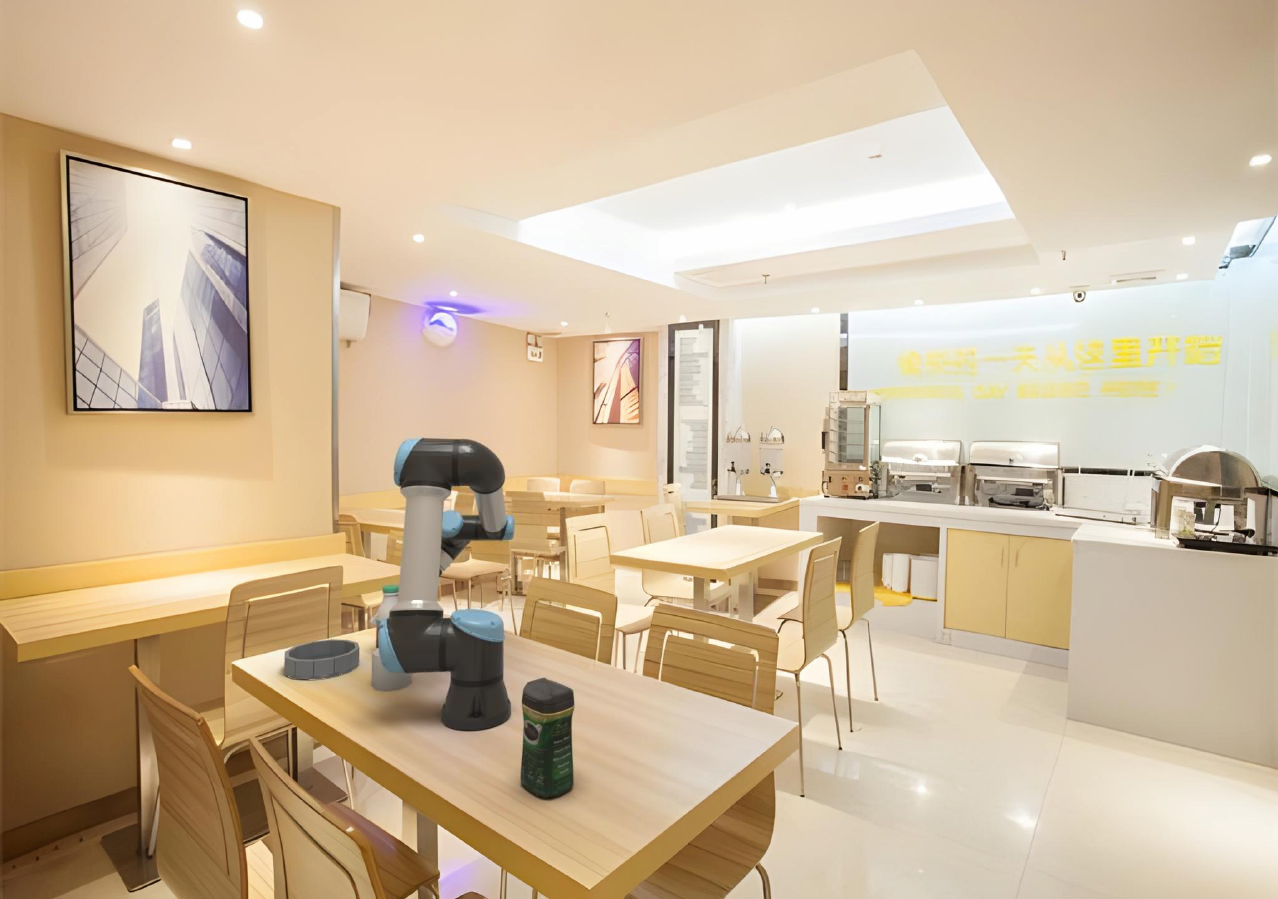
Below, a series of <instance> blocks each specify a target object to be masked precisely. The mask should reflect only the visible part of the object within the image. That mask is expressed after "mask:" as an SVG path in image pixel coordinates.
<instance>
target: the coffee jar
mask: <svg viewBox="0 0 1278 899" xmlns="http://www.w3.org/2000/svg"><path fill="white" fill-rule="evenodd" d="M575 706H576V705H575V693H574V689H573V688H571V687H569V686H566V685H564V684H561V683H559V682H557V681H554V680H550V679H547V678H546V677H541V678H537V679H533V680H531V681H527V682H526V684H525V685H524V687H523V689H522V697H521V710H522V716H523V717H522V720H523V728H522V729H523V731H522V732H523V735H522V737H523V738H522V749H521V750H522V751H521V752H522V753H521V763H520V764H521V765H520V782H521V785H522V786H524V788H526V789H527V790H528V791H529V792H531V793H533V794H535V795H536V796H539V797H542V798H550V797H559V796H560V795H563V794H564V793H566V792H567V791H569V790H570V789H571V788H572V787H573V785H574V756H573V731H572V730H573V728H572V726H573V725H572V724H573V715H574V711H575Z"/></svg>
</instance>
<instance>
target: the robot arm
mask: <svg viewBox="0 0 1278 899" xmlns="http://www.w3.org/2000/svg"><path fill="white" fill-rule="evenodd" d="M505 481H506V472H505V468H504V465H503V462H502V461H501V460H500V458H499V457H498V456H497V455H496V453H494V452H493V450H492V449H491V448H489V447H488V446H486V445H484V444H482V443H481V442H478V441H477V440H473V439H470V438H469V439H468V438H435V437H434V438H433V437H431V438H429V437H420V438H408V439H405V440H403V441H402V442H401V444H400V445H399V447H398V449H397V452H396V455H395V459H394V463H393V482H394V484H395V486H397V487H399V488H400V490H399V493H400V494H401V495H402V496H403V497H404V498H405V510H404V511H405V512H404V525H403V535H402V547H401V557H400V558H401V559H400V570H399V581H398V585H399V592H398V602H397V604H396V605H395V606H394V607H393V608H391V609H390V612H389V618H386V619H384V620H382V621H381V623H380V629H379V633H378V646H379V655H380V660H381V663H382V665H383V667H384V669H385V670H386V671H387V672H390V673H404V674H409V673H412V674H421V673H423V674H425V673H426V674H427V673H450V682H449V688H448V690H447V694H446V697H445V702H444V703H443V705H442V708H441V722H442V723H443V724H444V725H445V726H446V727H448V728H450V729H454V730H459V731H478V730H486V729H491V728H493V727H495V726H496V727H497V726H498V725H501V724H503V723H505V722H506V721H507V720H508V719H510V716H511V714H512V703H511V700H510V698H509V695H508V691H507V687H506V683H505V681H504V667H505V666H504V663H505V661H504V655H505V654H504V652H505V651H504V650H505V648H504V646H505V645H504V644H505V643H504V642H505V639H506V636H505V629H504V628H505V627H504V620H503V618H502V617H501V616H500V615H498V614H497V613H495V612H492V611H489V610H484V609H478V608H465V609H457V610H454V611H453V612H452V613H451V615H450V617H444V612H445V611H444V609H443V607H442V606H440V604H439V602H438V596H439V583H440V582H439V581H440V580H439V579H440V577H441V576H442V575H443V572H445V571H446V570H447V568H450V567H451V564H452V563H453V562H454V561H455V559H456V558H457V557H459V555H460V554H461V553H462V552H463V551H464V549H465V548H466V547H467V546H468V545H469V544H470V543H471V542H472V541H473V542H475V541H482V542H483V541H485V542H486V541H488V542H489V541H490V542H491V541H498V542H503V541H511V540H513V539H514V537H515V517H514V515H511V514H507V510H506V504H505V502H506V501H505V497H504V495H505V494H504V488H503V486H504V484H505ZM452 487H469V488H470V490H471V491H472V492H473V495H474V500H475V504H476V508H477V515H476V514H475V515H473V514H463V515H462V514H461V513H459V512H458V511H456V510H453V509H448V510H445V511H444V507H445V506H444V505H445V501H446V500H447V499H448V498H449V497H450V496H451V495H452ZM376 621H377V613H376V614H375V615H374V616H373V617H372V618H371V619H370V620H369V622H370V623H371V624H372V625H373V626H374V627H376Z"/></svg>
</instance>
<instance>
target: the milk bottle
mask: <svg viewBox="0 0 1278 899" xmlns="http://www.w3.org/2000/svg"><path fill="white" fill-rule="evenodd" d="M398 592H399V584H387V585H383V586H382V595H383V596H382V601H381V604H380V605H379V607H378V609H377V612H376V614H377V621H376V626H375V629H376V630H375V650H376V649H378V648H379V646H378V633H379V629H380V623H381V621H382V620H384V619H386V618H389V612H390V609H391V608H393V607H394V606H395V605H396V604H397V602H398Z"/></svg>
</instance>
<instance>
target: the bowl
mask: <svg viewBox="0 0 1278 899" xmlns="http://www.w3.org/2000/svg"><path fill="white" fill-rule="evenodd" d="M359 663H360V645H359V642H356V641H353V640H349V639H334V638H333V639H324V640H323V639H322V640H314V641H309V642H305V643H301V644H297V645H294V646H293V647H291V648H289V649H287V650H285V651H284V663H283V664H284V666H283V667H284V669H283V670H284V672H285V674H286V675H287V676H289V677H291V678H295V679H321V680H323V679H322V678H327V679H331V678H330V677H333V678H335V677H334V676H337V677H340V676H342V675H341V674H344V675H346V674H348V672H349V673H351V672H353V671H354V670H356V669H357V668H358V667H357V666H359V665H360V664H359ZM358 664H359V665H358ZM355 668H356V669H355ZM353 669H354V670H353ZM352 670H353V671H352ZM350 671H351V672H350ZM345 673H346V674H345ZM285 674H284V675H285ZM339 675H340V676H339ZM291 678H290V679H291ZM295 679H294V680H295Z"/></svg>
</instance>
